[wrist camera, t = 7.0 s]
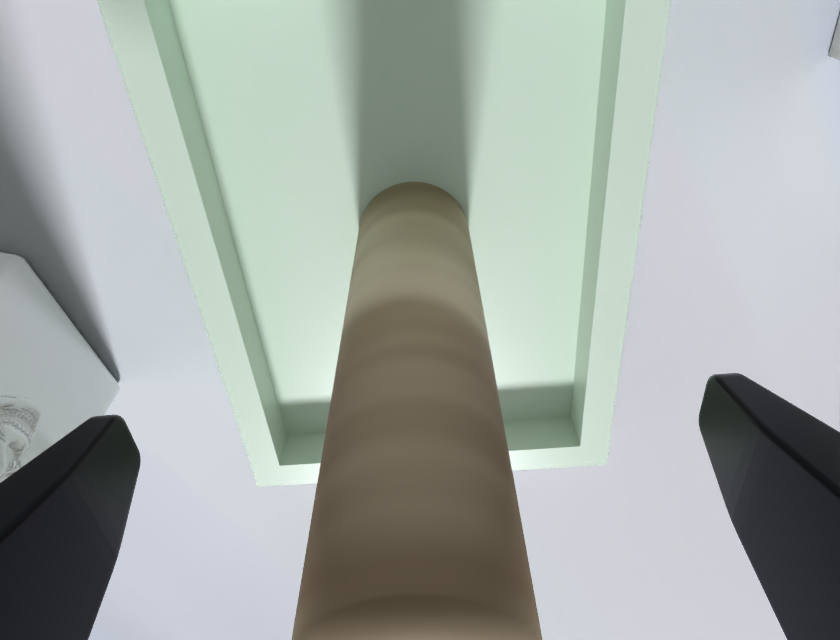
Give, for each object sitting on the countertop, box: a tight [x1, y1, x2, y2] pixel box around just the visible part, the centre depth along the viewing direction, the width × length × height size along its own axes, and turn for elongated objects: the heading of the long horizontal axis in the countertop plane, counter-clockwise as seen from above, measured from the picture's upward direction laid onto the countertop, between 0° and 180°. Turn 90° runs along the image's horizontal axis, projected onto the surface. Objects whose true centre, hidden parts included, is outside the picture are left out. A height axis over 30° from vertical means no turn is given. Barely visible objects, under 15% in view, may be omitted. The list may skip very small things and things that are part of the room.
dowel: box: [292, 182, 542, 640], centre depth 10 cm, size 3×3×10 cm
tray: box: [97, 0, 671, 487], centre depth 14 cm, size 14×10×2 cm
